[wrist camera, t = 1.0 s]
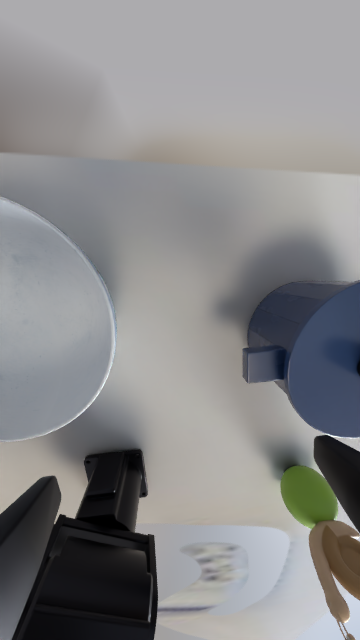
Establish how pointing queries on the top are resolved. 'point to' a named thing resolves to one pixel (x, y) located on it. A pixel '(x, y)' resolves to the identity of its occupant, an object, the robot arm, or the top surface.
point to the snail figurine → (325, 536)
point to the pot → (280, 327)
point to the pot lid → (327, 365)
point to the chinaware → (48, 326)
